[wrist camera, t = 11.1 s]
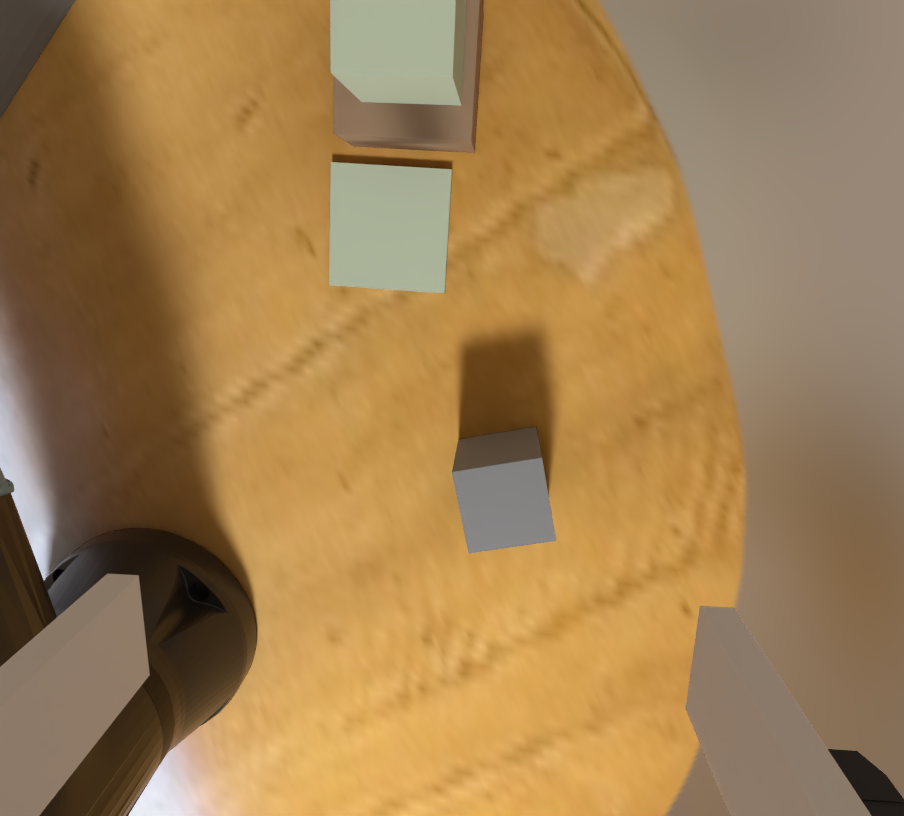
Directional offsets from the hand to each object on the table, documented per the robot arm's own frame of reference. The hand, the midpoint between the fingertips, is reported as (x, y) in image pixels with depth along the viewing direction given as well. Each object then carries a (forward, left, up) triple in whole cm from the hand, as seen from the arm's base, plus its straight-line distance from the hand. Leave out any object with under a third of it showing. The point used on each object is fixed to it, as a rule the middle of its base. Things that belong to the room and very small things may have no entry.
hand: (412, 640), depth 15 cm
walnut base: (-4, +17, -26) cm, 32 cm away
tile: (-5, +9, -26) cm, 28 cm away
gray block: (+3, -5, -26) cm, 27 cm away
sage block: (-4, +18, -21) cm, 28 cm away
